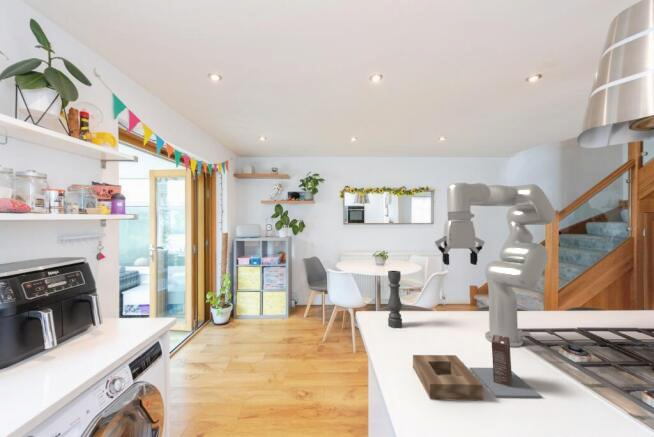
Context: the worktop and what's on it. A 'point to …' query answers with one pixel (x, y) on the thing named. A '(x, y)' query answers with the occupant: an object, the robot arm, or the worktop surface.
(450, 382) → the pocket block
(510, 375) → the box
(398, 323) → the candle holder
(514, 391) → the mat
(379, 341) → the worktop surface
